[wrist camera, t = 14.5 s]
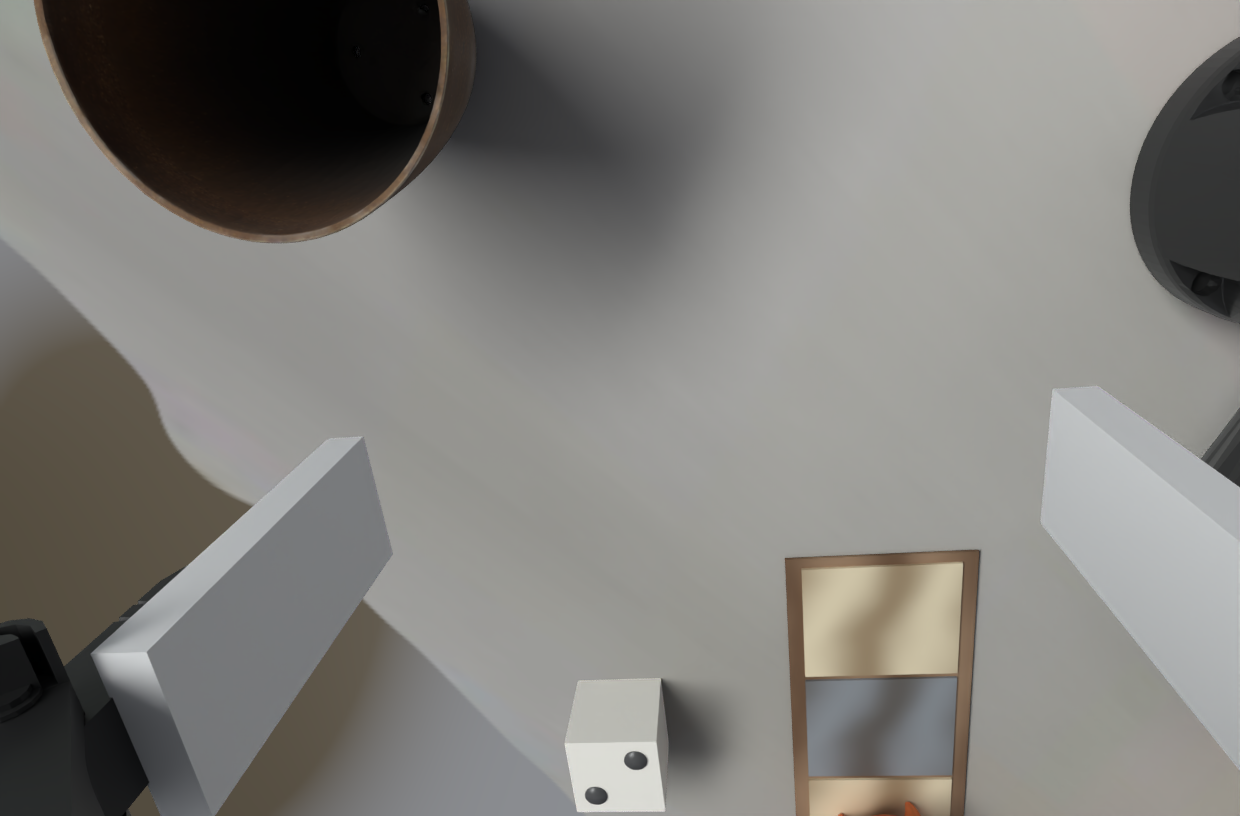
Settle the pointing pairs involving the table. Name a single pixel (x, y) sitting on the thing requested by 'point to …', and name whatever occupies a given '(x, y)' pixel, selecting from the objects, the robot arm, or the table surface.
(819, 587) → the board
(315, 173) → the plant pot
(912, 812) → the pot
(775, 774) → the table surface
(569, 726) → the die
